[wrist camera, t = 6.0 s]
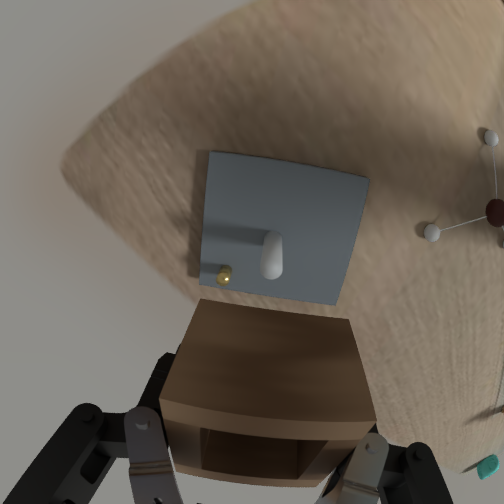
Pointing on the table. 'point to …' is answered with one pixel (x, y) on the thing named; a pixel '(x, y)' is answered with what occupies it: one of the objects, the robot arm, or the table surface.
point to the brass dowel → (224, 275)
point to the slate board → (279, 226)
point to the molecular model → (495, 209)
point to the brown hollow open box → (265, 396)
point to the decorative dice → (488, 466)
